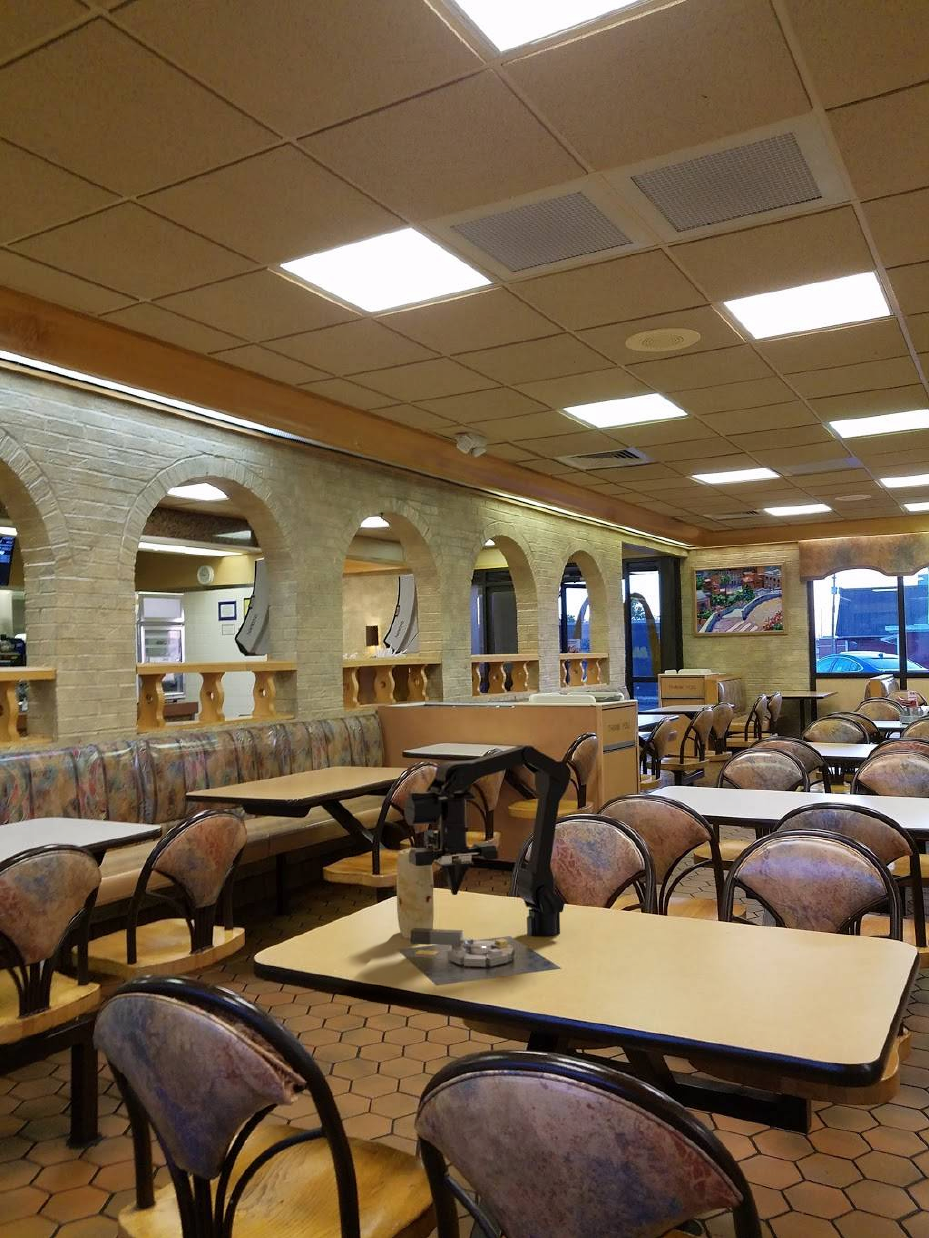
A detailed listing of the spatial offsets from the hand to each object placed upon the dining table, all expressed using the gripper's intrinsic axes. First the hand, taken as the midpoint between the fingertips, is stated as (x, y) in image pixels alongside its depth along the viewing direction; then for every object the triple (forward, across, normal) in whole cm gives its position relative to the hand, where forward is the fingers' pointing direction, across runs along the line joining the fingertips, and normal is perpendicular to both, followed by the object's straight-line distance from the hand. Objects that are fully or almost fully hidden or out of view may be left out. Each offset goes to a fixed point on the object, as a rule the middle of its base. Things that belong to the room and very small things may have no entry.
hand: (454, 894), depth 209 cm
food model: (+12, +5, -13) cm, 19 cm away
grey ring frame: (+11, +1, +8) cm, 13 cm away
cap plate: (+12, -1, +10) cm, 16 cm away
